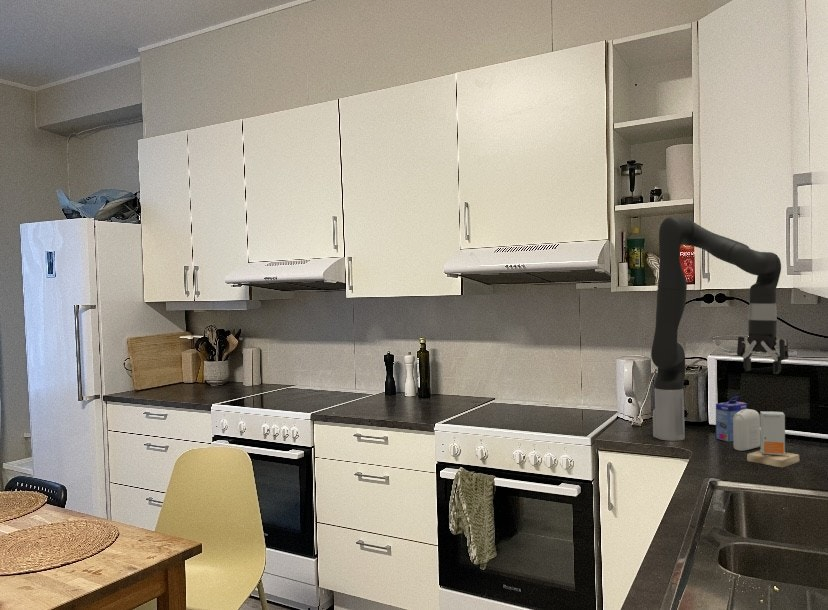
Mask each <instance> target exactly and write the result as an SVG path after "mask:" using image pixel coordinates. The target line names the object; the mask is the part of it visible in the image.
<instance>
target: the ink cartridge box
mask: <svg viewBox="0 0 828 610" xmlns="http://www.w3.org/2000/svg"><path fill="white" fill-rule="evenodd" d="M739 398H740V396H737V395H736V396H732V397H731V398H730V399H729V401H726V402H719V403H716V404H715V439H716V440H720V441H724V442H729V443H730V442H733V417H734V415H735V414H736V413H737V412H739V411H741V410H744V409H748V403H746V402H743V401H738V399H739Z"/></svg>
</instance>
